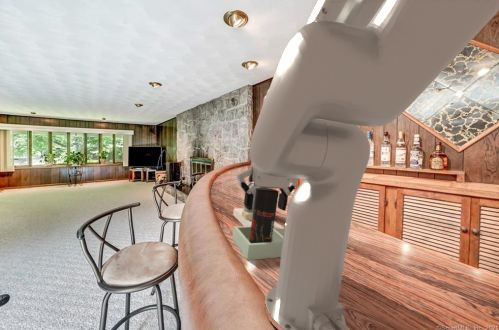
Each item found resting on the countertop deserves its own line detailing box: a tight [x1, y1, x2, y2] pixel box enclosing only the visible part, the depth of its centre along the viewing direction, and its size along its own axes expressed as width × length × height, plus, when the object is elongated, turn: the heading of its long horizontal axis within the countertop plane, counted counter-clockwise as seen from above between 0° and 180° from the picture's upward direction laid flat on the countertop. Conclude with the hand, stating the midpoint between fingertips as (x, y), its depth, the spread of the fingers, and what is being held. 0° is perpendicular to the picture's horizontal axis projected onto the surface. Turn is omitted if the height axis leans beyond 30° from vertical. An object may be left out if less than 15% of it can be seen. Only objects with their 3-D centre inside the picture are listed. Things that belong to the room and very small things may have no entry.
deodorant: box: [249, 188, 280, 243], centre depth 57 cm, size 6×6×15 cm
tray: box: [231, 225, 284, 261], centre depth 58 cm, size 12×12×4 cm
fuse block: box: [232, 183, 285, 236], centre depth 75 cm, size 21×10×12 cm, turn 22°
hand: (265, 208), depth 57 cm, fingers open, 9 cm apart
